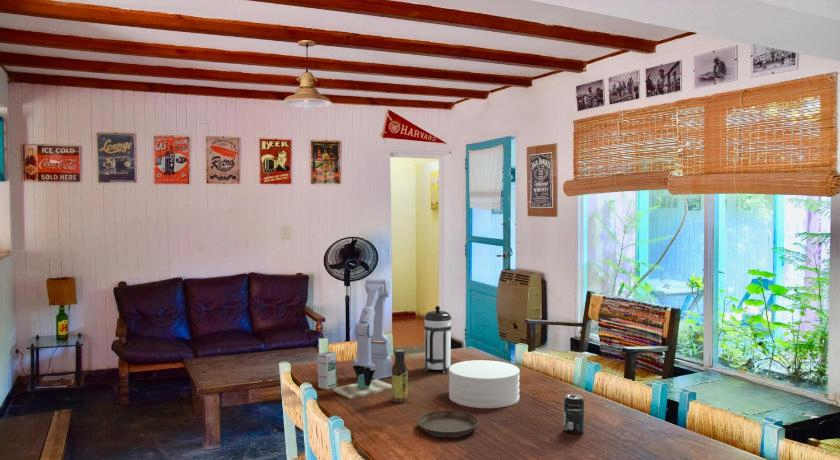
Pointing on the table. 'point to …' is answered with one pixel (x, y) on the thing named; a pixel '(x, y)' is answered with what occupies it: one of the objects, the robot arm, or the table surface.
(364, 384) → the teal cube
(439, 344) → the coffee press
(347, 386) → the post board
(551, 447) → the table surface
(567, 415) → the beverage can
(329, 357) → the syrup box
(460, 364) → the plate stack
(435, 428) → the plant saucer
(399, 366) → the sauce bottle
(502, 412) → the table surface
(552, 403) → the table surface
